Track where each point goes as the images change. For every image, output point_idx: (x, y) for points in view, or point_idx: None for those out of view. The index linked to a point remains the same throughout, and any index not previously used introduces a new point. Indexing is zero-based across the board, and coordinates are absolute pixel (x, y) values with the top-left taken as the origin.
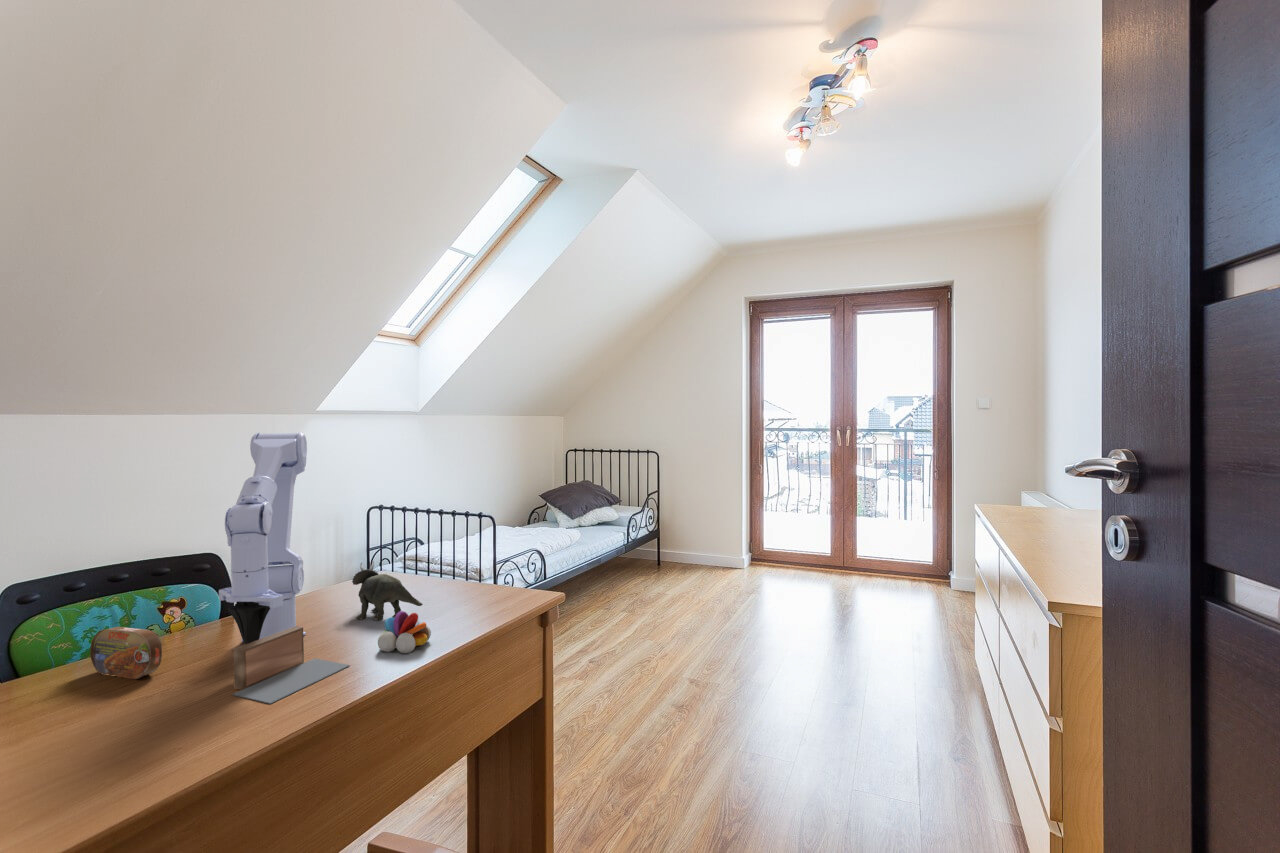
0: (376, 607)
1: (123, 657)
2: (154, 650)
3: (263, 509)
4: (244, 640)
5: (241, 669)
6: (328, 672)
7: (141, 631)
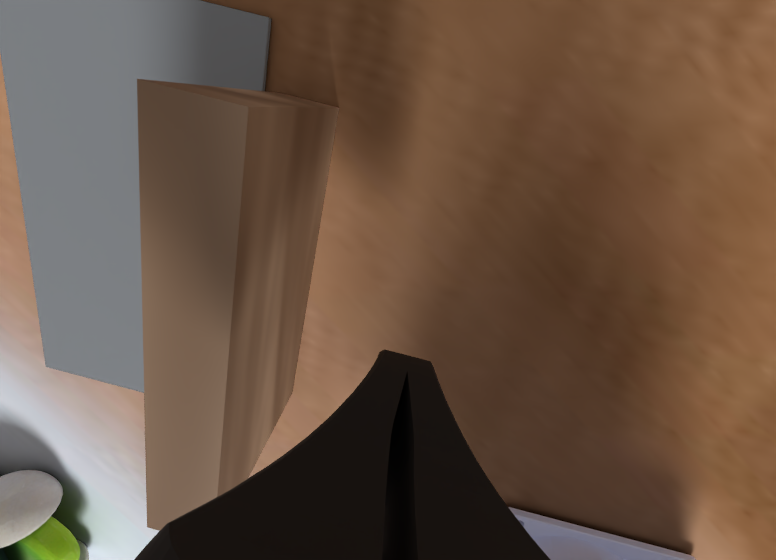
0: None
1: None
2: None
3: None
4: (414, 366)
5: (235, 89)
6: (57, 299)
7: None
